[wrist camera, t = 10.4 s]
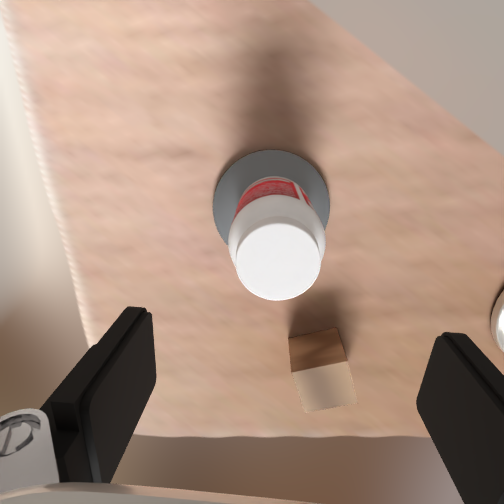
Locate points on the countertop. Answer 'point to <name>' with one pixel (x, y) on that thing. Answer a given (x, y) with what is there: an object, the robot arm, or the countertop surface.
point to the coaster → (262, 167)
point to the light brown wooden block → (321, 371)
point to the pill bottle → (276, 239)
